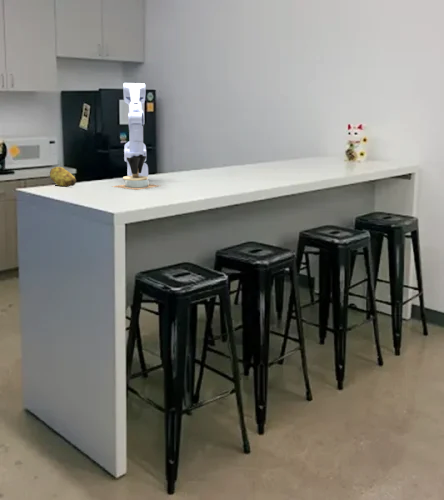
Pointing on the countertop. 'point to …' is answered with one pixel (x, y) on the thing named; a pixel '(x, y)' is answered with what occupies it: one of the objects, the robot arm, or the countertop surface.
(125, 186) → the board
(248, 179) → the countertop surface
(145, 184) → the bowl
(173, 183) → the countertop surface
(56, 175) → the potato
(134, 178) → the lid
